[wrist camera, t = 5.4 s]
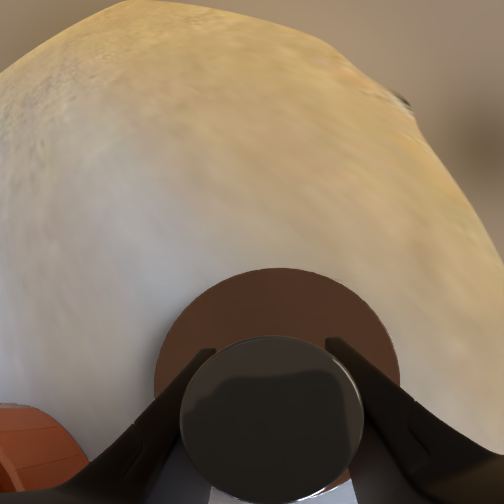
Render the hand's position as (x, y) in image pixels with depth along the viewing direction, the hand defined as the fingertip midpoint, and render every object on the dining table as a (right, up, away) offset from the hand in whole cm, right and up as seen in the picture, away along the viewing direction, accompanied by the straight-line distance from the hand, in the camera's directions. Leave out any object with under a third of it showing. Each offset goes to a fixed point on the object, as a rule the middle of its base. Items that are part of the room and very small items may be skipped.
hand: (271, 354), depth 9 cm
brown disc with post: (+1, -3, +5) cm, 6 cm away
